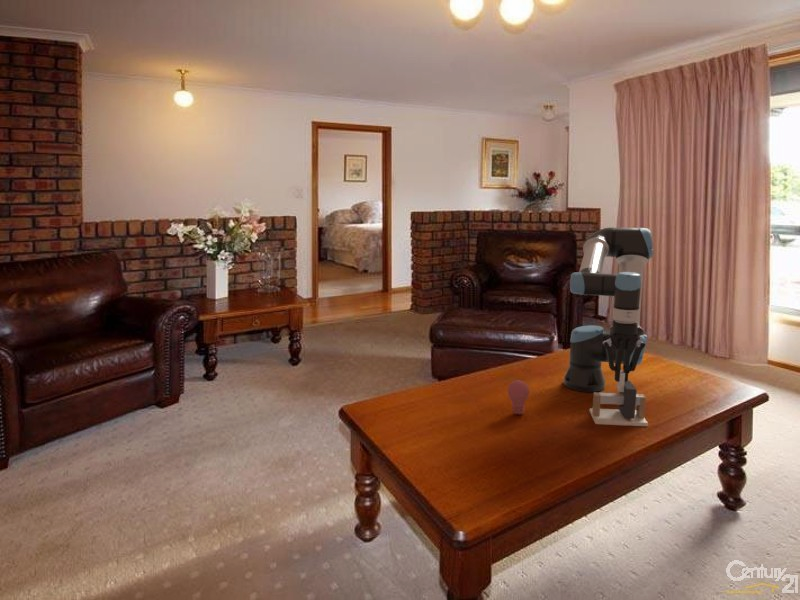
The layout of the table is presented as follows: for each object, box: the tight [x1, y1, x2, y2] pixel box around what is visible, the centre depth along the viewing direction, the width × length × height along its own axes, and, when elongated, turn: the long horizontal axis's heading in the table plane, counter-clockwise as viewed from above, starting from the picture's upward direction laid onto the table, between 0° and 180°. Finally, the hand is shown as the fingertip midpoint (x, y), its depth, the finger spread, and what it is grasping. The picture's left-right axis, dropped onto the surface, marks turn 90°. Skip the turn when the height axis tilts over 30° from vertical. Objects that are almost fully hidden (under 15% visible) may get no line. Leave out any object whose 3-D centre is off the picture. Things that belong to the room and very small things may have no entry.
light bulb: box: [507, 379, 530, 415], centre depth 179 cm, size 7×7×12 cm
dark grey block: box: [617, 380, 637, 419], centre depth 173 cm, size 3×8×10 cm, turn 172°
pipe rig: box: [589, 391, 649, 427], centre depth 174 cm, size 16×10×9 cm, turn 82°
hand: (620, 390), depth 173 cm, fingers closed
